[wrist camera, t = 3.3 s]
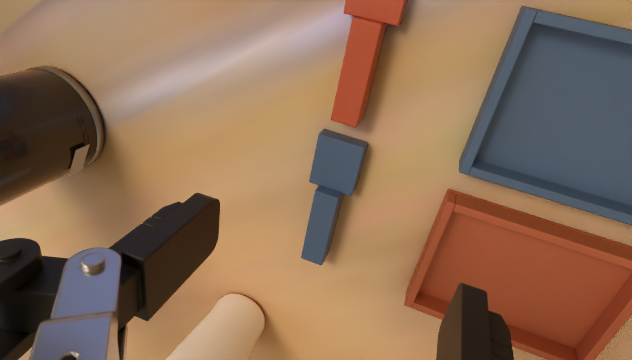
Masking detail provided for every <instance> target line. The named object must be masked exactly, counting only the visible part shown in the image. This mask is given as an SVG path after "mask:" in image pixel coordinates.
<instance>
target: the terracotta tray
mask: <svg viewBox="0 0 632 360" xmlns="http://www.w3.org/2000/svg"><path fill="white" fill-rule="evenodd" d="M459 283H464V284H467V285H470V286H473V287H476V288H479V289H482V290H485V291H486V292H487V297H488V310H489V311H492V312H495V313H498V314H501V316H502V317H503V319H504V321H505V323H506V324H507V326H508V328H509V330H510V334H511V341H512V346H513V347H515V348H518V349H521V350H523V351H526V352H529V353H531V354H534V355H536V356H539V357H542V358H544V359H547V360H595V359H596V358H597V356H598V355H599V354H600V353H601V351H602V350H603V349H604V348H605V347H606V345H607V344H608V343H609V342H610V340H611V339H612V338H613V337H614V336H615V334H616V333H617V332H618V331H619V329H620V328H621V327H622V326H623V325H624V323H625V322H626V321H627V320H628V318H629V317H630V316H631V315H632V247H630V246H627V245H624V244H621V243H618V242H615V241H611V240H608V239H605V238H602V237H599V236H596V235H592V234H589V233H586V232H583V231H580V230H577V229H573V228H570V227H567V226H564V225H561V224H558V223H554V222H551V221H548V220H545V219H542V218H539V217H535V216H532V215H529V214H526V213H523V212H520V211H516V210H513V209H510V208H507V207H504V206H501V205H497V204H494V203H491V202H488V201H485V200H482V199H478V198H475V197H472V196H469V195H466V194H463V193H459V192H456V191H453V190H450V189H448V190H447V192H446V195H445V197H444V200H443V202H442V204H441V207H440V209H439V212H438V214H437V217H436V219H435V222H434V224H433V227H432V229H431V232H430V234H429V237H428V239H427V242H426V244H425V246H424V249H423V251H422V254H421V256H420V259H419V261H418V264H417V266H416V269H415V271H414V274H413V276H412V279H411V281H410V284H409V286H408V288H407V293H406V298H405V303H404V305H405V306H408V307H410V308H411V307H412V308H413V309H416V310H418V311H421V312H423V313H426V314H429V315H431V316H434V317H437V318H439V319H442V320H443V318H444V315H445V313H446V311H447V309H448V306H449V304H450V302H451V300H452V298H453V295H454V293H455V291H456V289H457V287H458V285H459Z"/></svg>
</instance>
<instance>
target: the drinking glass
mask: <svg viewBox="0 0 632 360" xmlns="http://www.w3.org/2000/svg"><path fill="white" fill-rule="evenodd" d="M264 326H265V318H264V315H263V312H262V310H261V309H260V307H259V306H258V305H257V304H256V303H255V302H254V301H253V300H251V299H250V298H248V297H246V296H244V295H240V294H227V295H225V296H223V297H221V298H220V299H219V300H218V301H217V303H216V304H215V305H214V307H213V308H212V309H211V310H210V312H209V313H208V314H207V315H206V316H205V317H204V318H203V319H202V320H201V321H200V322H199V324H198V325H197V326H196V327H195V328H194V329H193V330H192V331H191V332H190V333H189V334H188V335H187V336H186V337H185V338H184V340H183V341H182V342H181V343H180V344H179V345H178V346H177V347H176V348H175V349H174V350H173V351H172V352H171V353H170V354H169V355H168V356H167V358H166V359H165V360H248V358H249V356H250V354H251V352H252V350H253V348H254V346H255V344H256V342H257V340H258V338H259V337H260V335H261V333H262V331H263V329H264Z"/></svg>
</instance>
